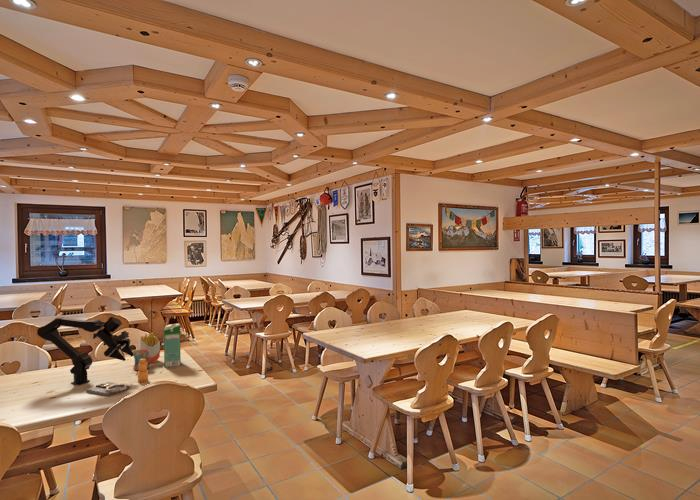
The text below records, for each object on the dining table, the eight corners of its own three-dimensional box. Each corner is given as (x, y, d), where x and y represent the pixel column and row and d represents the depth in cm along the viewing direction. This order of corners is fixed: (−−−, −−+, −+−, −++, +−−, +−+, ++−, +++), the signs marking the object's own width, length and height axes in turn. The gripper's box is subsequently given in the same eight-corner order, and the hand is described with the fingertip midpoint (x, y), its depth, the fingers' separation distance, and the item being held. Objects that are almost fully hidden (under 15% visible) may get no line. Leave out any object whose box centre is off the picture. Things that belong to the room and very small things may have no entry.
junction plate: (86, 392, 209) (86, 387, 209) (107, 384, 220) (107, 379, 220) (112, 397, 202) (112, 392, 202) (133, 389, 214) (133, 384, 214)
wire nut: (135, 381, 224) (135, 360, 224) (143, 379, 229) (143, 357, 229) (142, 383, 223) (142, 361, 222) (150, 380, 227) (149, 358, 227)
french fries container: (160, 360, 265) (159, 332, 265) (145, 365, 255) (145, 336, 255) (155, 359, 267) (154, 332, 267) (140, 364, 257) (140, 335, 257)
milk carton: (164, 363, 258) (163, 324, 257) (179, 361, 262) (179, 322, 261) (164, 367, 250) (163, 326, 249) (180, 365, 254) (180, 325, 253)
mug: (128, 370, 245) (128, 352, 245) (141, 365, 254) (140, 348, 253) (144, 372, 241) (144, 354, 241) (156, 367, 250) (156, 350, 250)
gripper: (109, 331, 215) (131, 351, 216) (126, 324, 234) (146, 343, 235) (94, 346, 215) (116, 367, 216) (112, 338, 233) (133, 357, 234)
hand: (129, 357), depth 225 cm, fingers open, 9 cm apart
